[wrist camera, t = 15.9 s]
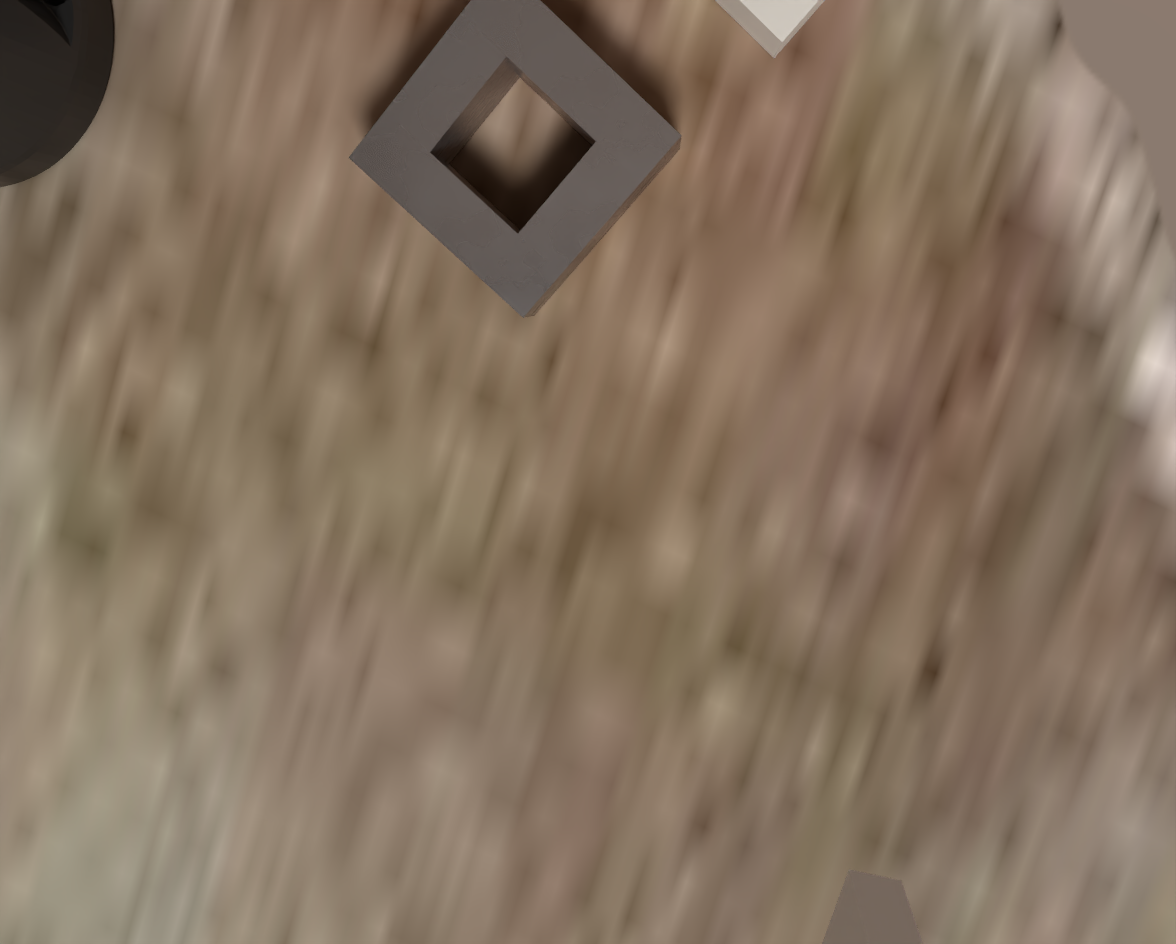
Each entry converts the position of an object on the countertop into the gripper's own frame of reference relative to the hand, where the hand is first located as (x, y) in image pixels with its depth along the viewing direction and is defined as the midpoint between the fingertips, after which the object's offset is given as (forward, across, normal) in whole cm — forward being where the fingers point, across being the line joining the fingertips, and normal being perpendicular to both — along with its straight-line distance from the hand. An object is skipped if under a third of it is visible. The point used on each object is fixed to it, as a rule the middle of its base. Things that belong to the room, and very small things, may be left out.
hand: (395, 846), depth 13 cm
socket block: (+32, -5, +10) cm, 33 cm away
